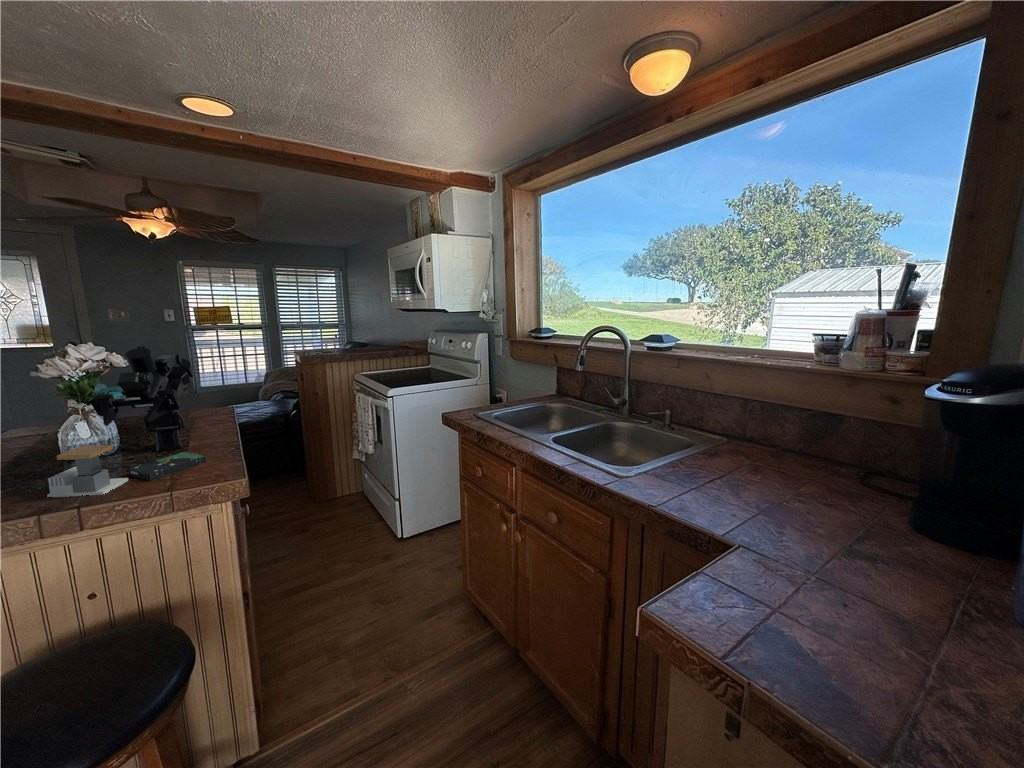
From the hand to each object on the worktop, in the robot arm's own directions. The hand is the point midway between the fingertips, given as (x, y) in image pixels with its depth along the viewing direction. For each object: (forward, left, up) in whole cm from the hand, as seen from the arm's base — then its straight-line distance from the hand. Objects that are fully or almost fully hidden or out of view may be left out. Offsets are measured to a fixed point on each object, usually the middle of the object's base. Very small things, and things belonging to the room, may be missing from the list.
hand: (126, 422), depth 111 cm
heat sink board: (+3, -9, -15) cm, 18 cm away
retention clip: (+5, -8, -10) cm, 14 cm away
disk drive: (-2, +7, -16) cm, 18 cm away
